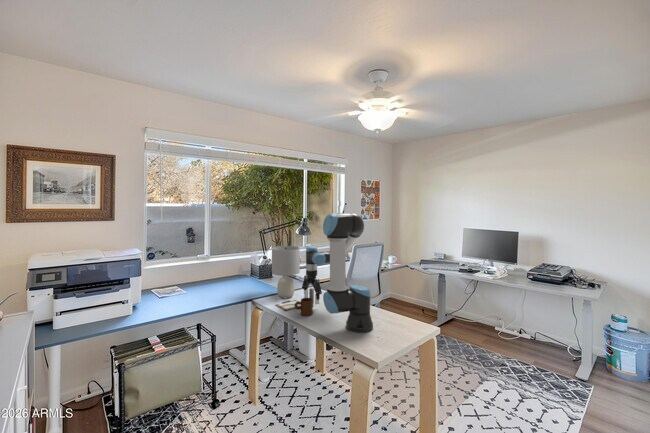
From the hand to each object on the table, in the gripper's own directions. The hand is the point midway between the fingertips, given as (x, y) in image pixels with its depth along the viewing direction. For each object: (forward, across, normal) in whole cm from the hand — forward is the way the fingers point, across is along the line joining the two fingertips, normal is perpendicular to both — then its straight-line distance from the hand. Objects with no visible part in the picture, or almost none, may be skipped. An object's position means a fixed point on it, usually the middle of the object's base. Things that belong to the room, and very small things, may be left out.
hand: (311, 301), depth 211 cm
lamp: (+4, +29, +2) cm, 29 cm away
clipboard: (+3, +10, +10) cm, 15 cm away
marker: (+3, 0, 0) cm, 3 cm away
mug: (+4, -9, +13) cm, 16 cm away
